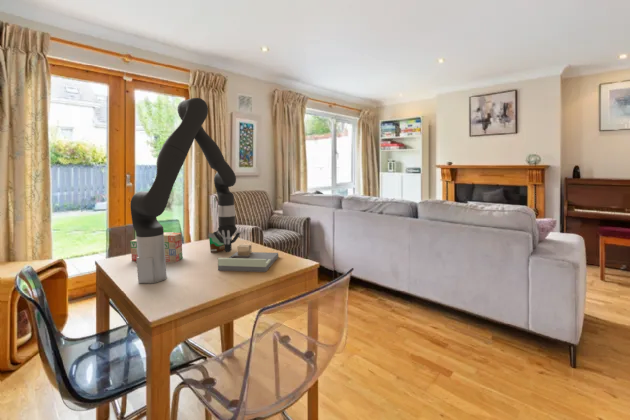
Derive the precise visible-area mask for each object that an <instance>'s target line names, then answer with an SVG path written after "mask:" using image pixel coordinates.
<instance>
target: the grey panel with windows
mask: <svg viewBox="0 0 630 420" xmlns="http://www.w3.org/2000/svg"><path fill="white" fill-rule="evenodd" d="M278 258H279V252H265V251H264V252H263V251H261V252H255V251H252V253H251V254H250V255H248V256H246V255H238V251H235V253H233V254H231V256H229V257H218V258H217V271H224V272H225V271H228V272H231V271H232V272H258V273H259V272H260V273H261V272H262V273H266V272H267V271H268V270H269V269H270V268H271V266H273V264H274V263H275V262H276V261H277V260H278ZM269 267H270V268H269Z"/></svg>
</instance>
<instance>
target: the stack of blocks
mask: <svg viewBox="0 0 630 420" xmlns="http://www.w3.org/2000/svg"><path fill="white" fill-rule="evenodd" d="M129 243H130V253H131V254H130V255H131V261H133V260H134V261H133V262H137V260H136V258H137V257H138V254H137V241H136V238H135V239H133V240H130V241H129ZM164 245H165V259H166V263H167V262H170V263H172V262H173V263H176V262H178V261H180V260H182V259H183V240H182V232H175V231H174V232H172V231H171V232H164Z"/></svg>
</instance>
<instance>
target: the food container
mask: <svg viewBox="0 0 630 420" xmlns="http://www.w3.org/2000/svg"><path fill="white" fill-rule="evenodd" d="M220 235H221V233H220ZM221 236H222V235H221ZM222 237H223V236H222ZM208 239H209V251H210V253H211V254H213V253H216V254H217V253H222V252H224V251H225V246H224V243H221V242H220V241H219V240H218V239H217V238H216V236H215V235H214V232H208Z"/></svg>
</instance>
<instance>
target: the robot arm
mask: <svg viewBox="0 0 630 420" xmlns="http://www.w3.org/2000/svg"><path fill="white" fill-rule="evenodd" d="M177 114H178V116H179V118H180V120H181V122H180V124H179V125H178V126H177V127H176V128H175V130H174V131H172V133H171V134H170V135H169V136H168V137H167V138H166V140H165V141H164V143H163V144H162V146H161V148H160V150H159V152H158V155H157V157H156V175H155V179H154V181H153V182H152V185H151V187H150V189H149V190H148V191H147V190H146V191H145V190H142V191H137V192H136V193H135V194H133V195H132V197H131V199H130V215H131V223H132V227H133V230H134V231H135V239H136V241H137V254H138V257H137V258H136V260H137V261H136V273H137V280H138V281H137V283H138V284H156V283H159V282H162V281H165V280H166V279H167V277H168V275H167V265H166V264H167V262H166V259H165V245H164V231H165V230H164V226H163V225H162V224H160V222H159V221H158V219H157V217H160V216H161V215H162V214H163V213H164V211H165V210H166V208H167V205H168V203H169V199H170V197H171V193H172V190H173V188H174V185H175V183H176V181H177V178H178V176H179V174H180V171H181V169H182V167H183V165H184V163H185V160H186V158H187V156H188V154H189V152H190V149H191V147H192V145H193V143H194V140H195V142H196V143H197V145H198V146H199V148H200V149H201V152H202V153H203V155H204V157H205V160H206V161H207V163H208V165H209V167H210V168H211V169H212V170H214V171H216V173H215V175H214V177H213V184H214V188H215V192H216V195H217V218H218V228H217V230H216V231H214V232H213V233H214V235H215V236H216V238H217V239H218V240H219V241H220V242H221V243H224V246H225V250H224V251H225V253H231V251H232V249H233V248H232V244H234V243H235V242H236V241H238V239H239V237H240V236H241V235H242V232H241V231H239V230H238V229H237V225H236V208H235V207H236V206H235V195H234V193H233V192H232V191H230V187H233V186H235V185H236V183H237V176H236V174H235V172H234V170H233V168H232V167H231V166H230V165H229V163H228V162H227V161H226V160H225V157H224V155H223V153H222V151H221V148H220V147H219V145H218V144H217V143H216V142H215V140H214V139H212V138H211V136H210V135H209V134H208V133H207V131H206V130H205V129H204V127H203V126H202V125H203V124H204V122H205V121H206V119H207V116H208V114H209V107H208V104H207V102H206V101H205V100H204V99H203V98H201V97H192V98H189V99H185V100H182V101H181V102H179V103H178V105H177ZM220 233H221V235H222V236H223V237H222V236H221V235H220ZM233 236H234V237H233Z"/></svg>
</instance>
